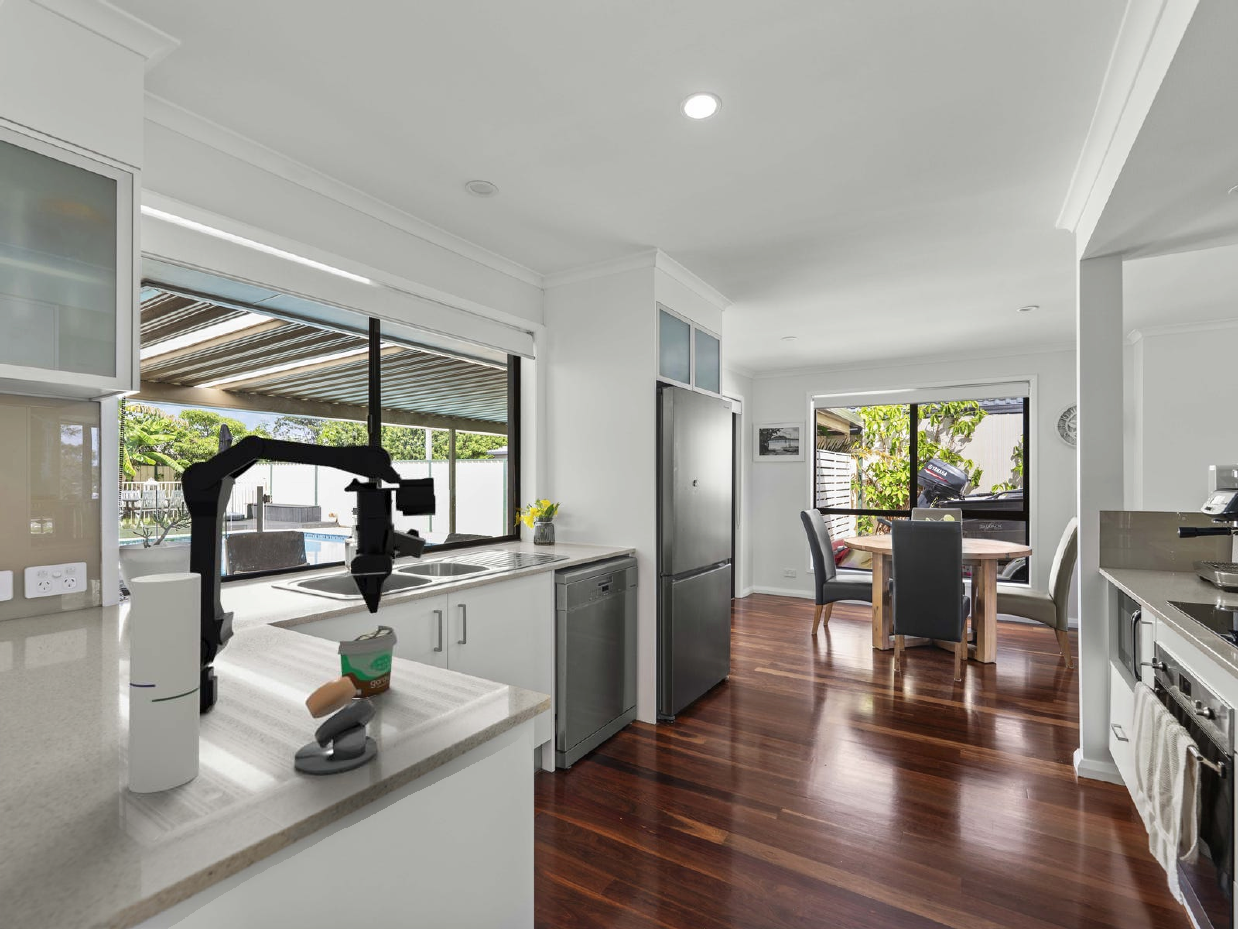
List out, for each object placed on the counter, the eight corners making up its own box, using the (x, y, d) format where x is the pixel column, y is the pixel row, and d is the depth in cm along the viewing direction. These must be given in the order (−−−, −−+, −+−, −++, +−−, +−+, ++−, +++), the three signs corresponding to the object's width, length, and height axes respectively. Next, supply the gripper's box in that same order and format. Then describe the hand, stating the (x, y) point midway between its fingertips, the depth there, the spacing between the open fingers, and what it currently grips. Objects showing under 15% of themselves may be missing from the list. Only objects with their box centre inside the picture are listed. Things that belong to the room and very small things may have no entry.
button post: (277, 764, 83) (278, 702, 83) (343, 736, 92) (343, 680, 92) (329, 782, 78) (329, 716, 78) (393, 750, 87) (393, 691, 87)
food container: (370, 705, 104) (371, 644, 104) (337, 702, 105) (337, 642, 105) (410, 681, 116) (410, 626, 116) (379, 678, 117) (380, 624, 117)
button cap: (297, 722, 84) (297, 679, 84) (336, 707, 90) (336, 667, 90) (325, 730, 82) (325, 686, 82) (364, 714, 87) (364, 673, 87)
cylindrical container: (152, 766, 82) (154, 573, 83) (210, 764, 83) (212, 572, 83) (113, 794, 75) (116, 582, 75) (177, 792, 76) (179, 581, 76)
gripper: (423, 519, 104) (424, 615, 104) (422, 512, 122) (423, 594, 122) (349, 522, 101) (350, 621, 100) (360, 514, 118) (361, 598, 118)
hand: (375, 607), depth 110 cm, fingers open, 9 cm apart
